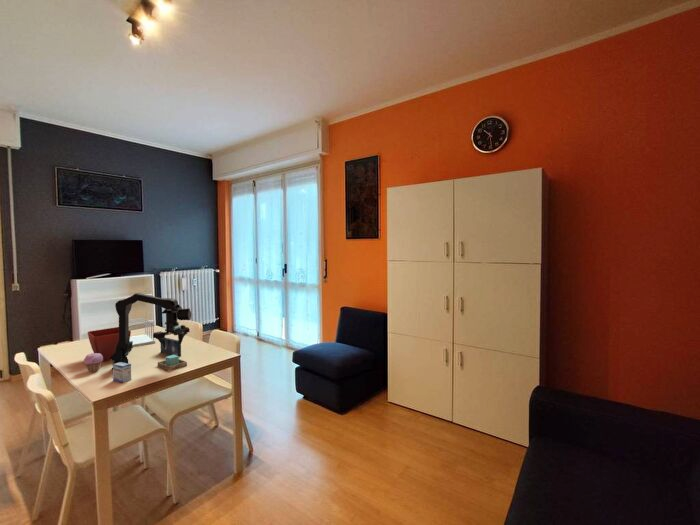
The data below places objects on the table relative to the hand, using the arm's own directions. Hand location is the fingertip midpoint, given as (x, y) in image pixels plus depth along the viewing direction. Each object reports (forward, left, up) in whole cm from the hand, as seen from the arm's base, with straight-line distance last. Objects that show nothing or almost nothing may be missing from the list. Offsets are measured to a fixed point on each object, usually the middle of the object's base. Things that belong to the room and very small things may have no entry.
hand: (172, 347), depth 196 cm
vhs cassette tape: (+11, +23, -12) cm, 28 cm away
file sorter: (+13, +72, -12) cm, 74 cm away
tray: (0, 0, -11) cm, 11 cm away
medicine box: (-26, +1, -12) cm, 28 cm away
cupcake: (-29, +29, -12) cm, 42 cm away
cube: (0, 0, -11) cm, 11 cm away
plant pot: (-14, +48, -12) cm, 51 cm away
